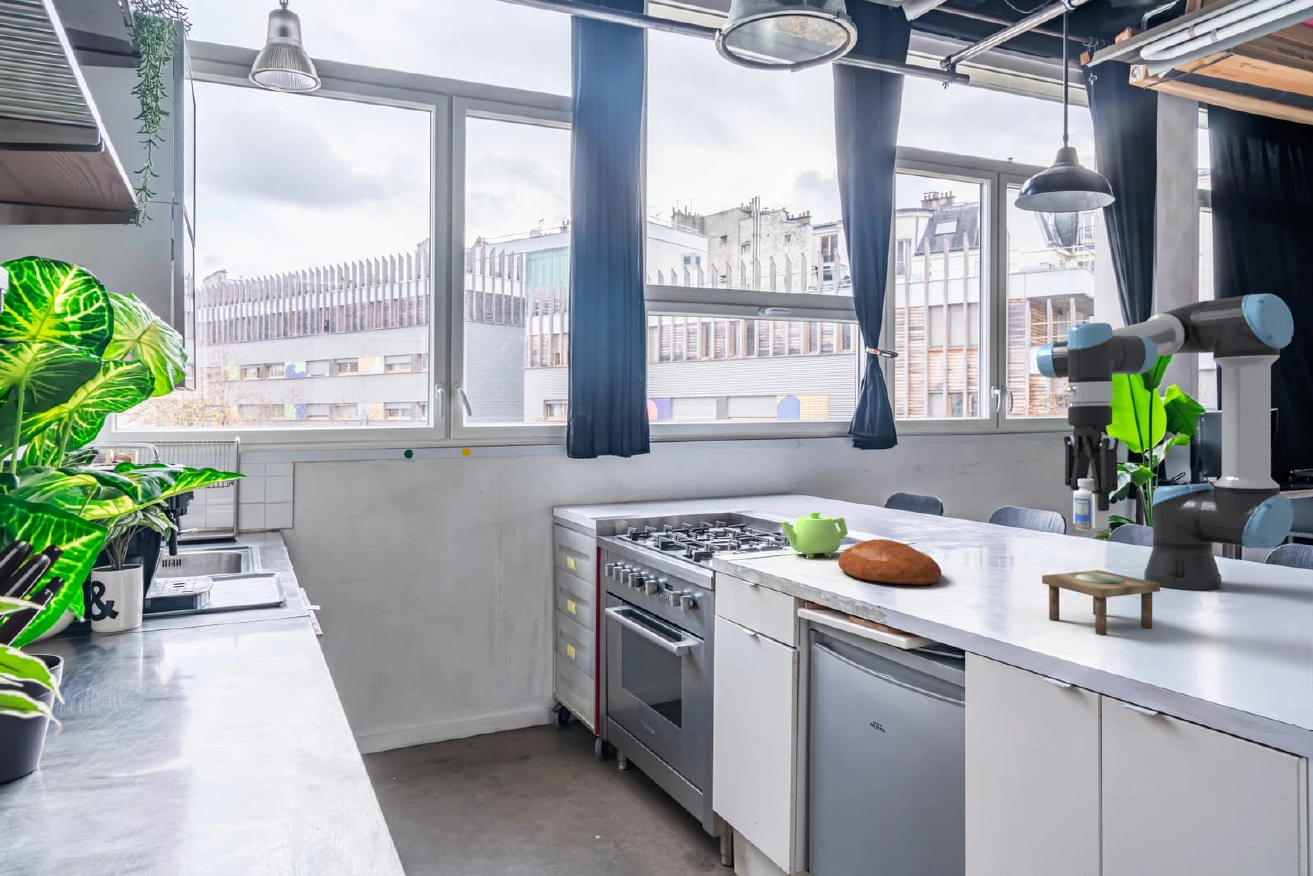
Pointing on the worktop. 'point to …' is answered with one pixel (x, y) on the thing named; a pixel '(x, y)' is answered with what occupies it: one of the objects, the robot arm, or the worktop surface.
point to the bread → (889, 563)
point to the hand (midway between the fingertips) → (1090, 525)
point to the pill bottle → (1084, 506)
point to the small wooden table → (1101, 593)
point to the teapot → (816, 534)
